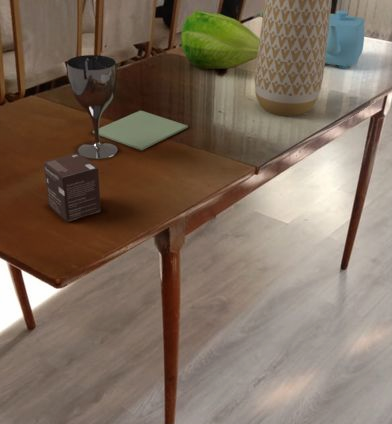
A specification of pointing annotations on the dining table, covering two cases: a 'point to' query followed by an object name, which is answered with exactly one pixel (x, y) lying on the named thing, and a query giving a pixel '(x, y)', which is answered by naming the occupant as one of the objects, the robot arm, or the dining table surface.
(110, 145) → the wine glass
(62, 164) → the box
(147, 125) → the mat
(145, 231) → the dining table surface
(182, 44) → the lettuce
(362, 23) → the teapot
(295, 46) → the vase
